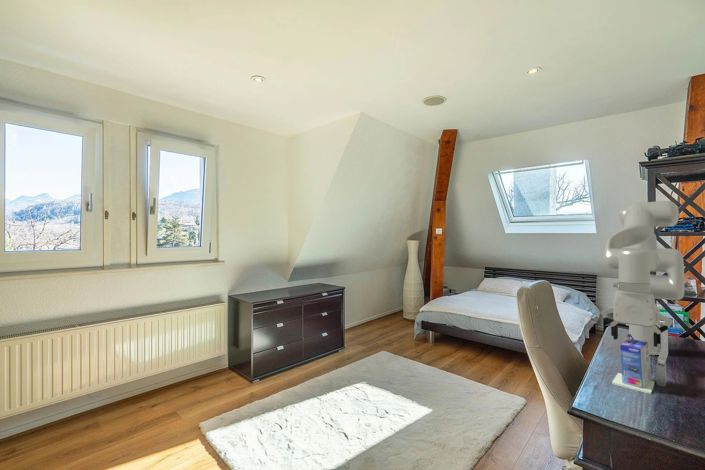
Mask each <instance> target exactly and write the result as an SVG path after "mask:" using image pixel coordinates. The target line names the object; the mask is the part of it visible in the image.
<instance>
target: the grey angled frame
mask: <svg viewBox="0 0 705 470" xmlns="http://www.w3.org/2000/svg"><path fill="white" fill-rule="evenodd" d="M664 324H665V322H664V321H663V322H662V321H660V322H656V325H657V326H658V327H662V326H663V325H664ZM668 330H669V328H668V329H667V330H666V331H664V332H662V333H661V344H660V348H661V351H660V354H659V356H657V362H658V363H660V364H666V361H667V358H668V355H669V336H668V335H669V332H668Z"/></svg>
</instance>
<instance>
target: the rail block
mask: <svg viewBox="0 0 705 470" xmlns="http://www.w3.org/2000/svg"><path fill="white" fill-rule="evenodd" d="M655 366H656V367H655V369H656V370H655V373H656V375H655V376H656V378H655V379H656V381H655V383H656V386H659V387H666V386H667V364H666V363H665V364H660V363H658V361H657V362H656V365H655Z"/></svg>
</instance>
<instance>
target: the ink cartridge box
mask: <svg viewBox="0 0 705 470" xmlns="http://www.w3.org/2000/svg"><path fill="white" fill-rule="evenodd" d="M626 337H627V339H626V340H625V341H624V342H622V343H621V344H620V345H619V346H620V349H619V351H620V364H621V365H620V366H621V373H622V383H626V384H629V385H633V386H636V387H640V388H644V387H645V386H646V384H647V383H648V382H649V381H650V380H651V369H650V355H649V346H648V342H644V341H639V340H634V339H633V337H632V336H631V334H629V333H628V334H627V335H626ZM630 337H631V338H632V339H630Z"/></svg>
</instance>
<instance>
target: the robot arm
mask: <svg viewBox="0 0 705 470" xmlns="http://www.w3.org/2000/svg"><path fill="white" fill-rule="evenodd" d="M679 213H680V211H679V207H678V206H677V204H676V203H675V202H673V201H670V200H663V201H662V200H659V201H658V200H657V201H646V202H645V201H644V202H643V201H642V202H635V203H632V204H630V205H629V206H627V207H625V208H623V209H621V210H620V211H619V220H620V222H621V225H622V228H621V229H620V230H618V231H617V232H615V233H613V234H612V235H611V236H610V237H608V239H607V240H606V241H605V245H604V250H603V256H602V257H603V259H602V260H603V264H604V266H605V267H606V268H607V269H609V270H613V271H618V282H613V285H612V287H613V288H617V289H618V290H615V293H614V297H613V299H614V300H613V307H612V308H607V309H604V310H602V311H600V315H601V317H602V318H603V320H604V321H605V322H606V323H607V324H608V325H609V326H610V335H611V336H612V337H613V340H617V339H618V338H619V327H618V324H619V323H620V324H626V325H628V334H631V336H632V337H633V339H634V340H639V341H644V342H648V346H649V356H655V355H659V354H660V351H661V333H662V332H664V331H666V330H667V329H668V330H669V328H670V327H671V326H672V324H673V323H674V321H673V319H671V318H669V317H666V316H664V315H663V314H661V313H660V312H661V311H660V308H659V306H658V305H657V304H656V300H657V299H659V300H670V301H679V300H681V299H683V298H684V296H685V265H684V258H683V257H684V256H683V254H682V252H681V251H680V250H678V249H676V248H665V247H664V248H661V247H660V248H659V247H658V246H657V245H658V244H657V240H658V239H657V238H658V237H657V235H656V234H655V228H660V227H661V228H666V227H667V228H668V227H674V226H676V225H677V224H678V222H679V217H680V214H679ZM627 247H628V248H627ZM651 272H655V273H660V272H661V273H666V274H667V275H664V274H662V275H660V274H651ZM655 299H656V300H655ZM612 313H613V314H612ZM609 314H612V316H613V320H612V319H611V317H609V316H608V315H609ZM662 321H663V322H665V324H664V325H663V326H662V327H658V326H657V325H656V322H662ZM630 339H632V338H631V337H630Z"/></svg>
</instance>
